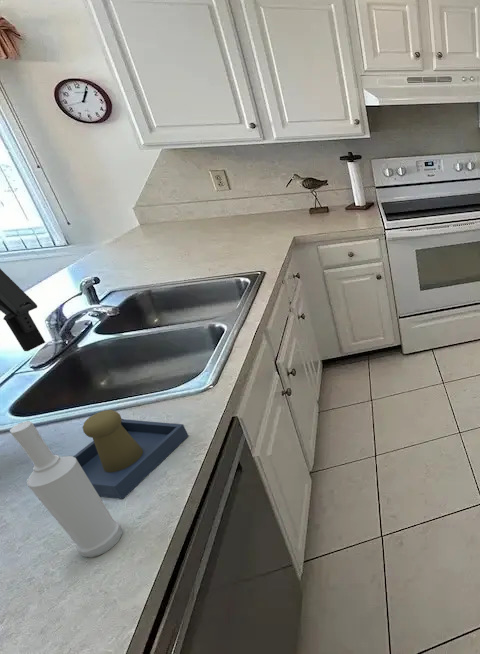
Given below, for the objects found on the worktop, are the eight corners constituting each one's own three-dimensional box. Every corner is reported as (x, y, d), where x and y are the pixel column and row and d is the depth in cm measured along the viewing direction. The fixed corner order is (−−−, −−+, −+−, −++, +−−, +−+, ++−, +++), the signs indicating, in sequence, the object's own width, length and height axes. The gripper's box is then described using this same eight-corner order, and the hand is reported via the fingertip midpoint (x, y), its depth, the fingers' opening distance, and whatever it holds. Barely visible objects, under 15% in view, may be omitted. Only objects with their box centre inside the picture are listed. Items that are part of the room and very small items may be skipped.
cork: (103, 458, 80) (77, 415, 76) (142, 441, 84) (119, 400, 79) (102, 478, 76) (74, 434, 72) (143, 460, 80) (119, 417, 75)
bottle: (78, 566, 63) (-14, 448, 52) (84, 539, 67) (-2, 424, 56) (122, 545, 66) (42, 429, 55) (124, 520, 69) (51, 407, 59)
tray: (53, 491, 75) (44, 478, 74) (128, 430, 88) (121, 418, 87) (122, 499, 73) (114, 486, 72) (188, 435, 86) (183, 424, 85)
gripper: (25, 224, 65) (85, 336, 74) (-101, 219, 68) (-29, 328, 77) (-37, 240, 58) (37, 362, 67) (-173, 234, 61) (-85, 351, 71)
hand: (2, 344), depth 72 cm, fingers open, 13 cm apart
